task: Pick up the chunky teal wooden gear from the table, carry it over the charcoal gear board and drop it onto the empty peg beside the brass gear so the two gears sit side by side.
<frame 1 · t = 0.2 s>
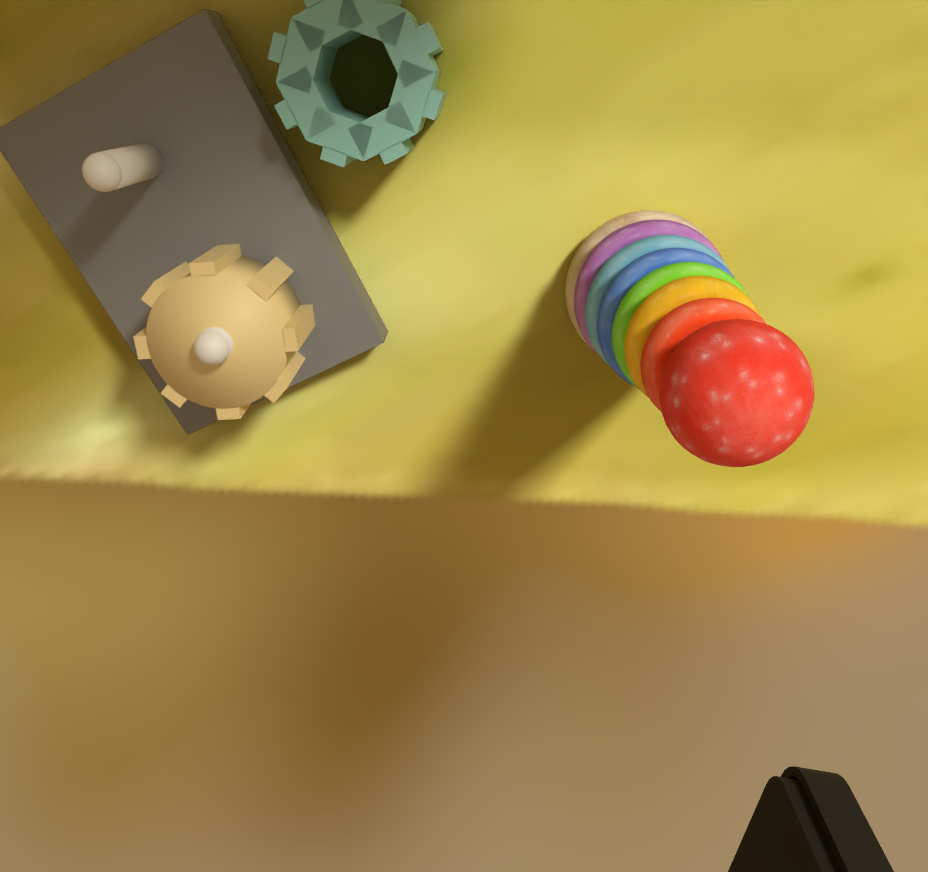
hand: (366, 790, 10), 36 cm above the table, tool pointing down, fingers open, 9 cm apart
teal gear: (368, 76, 40), on the table
gear board: (207, 235, 44), on the table
stacking toy: (639, 285, 44), on the table
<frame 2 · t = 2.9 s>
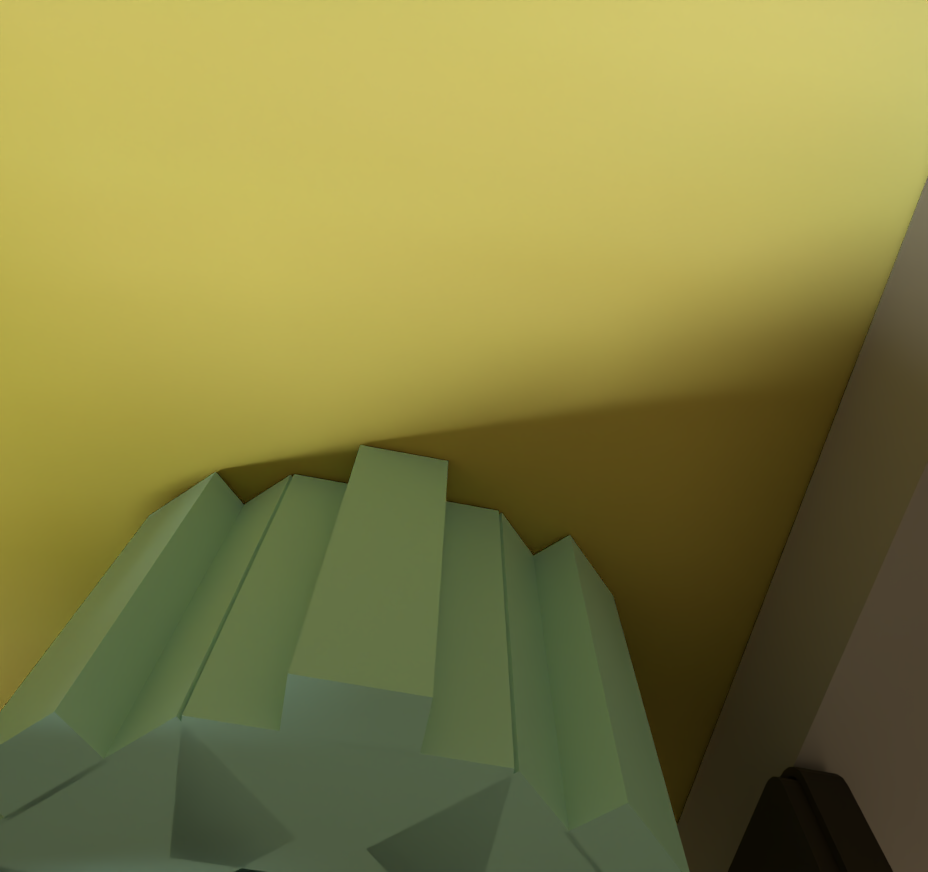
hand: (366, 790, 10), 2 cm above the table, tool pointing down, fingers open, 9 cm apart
teal gear: (359, 695, 12), on the table
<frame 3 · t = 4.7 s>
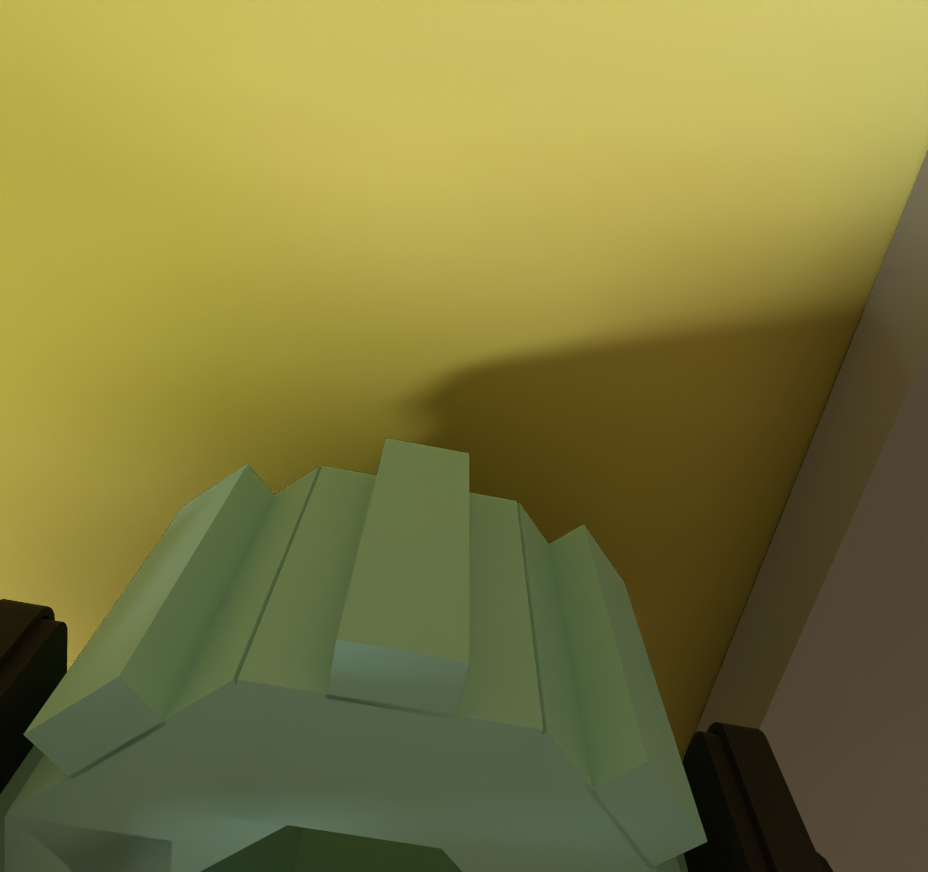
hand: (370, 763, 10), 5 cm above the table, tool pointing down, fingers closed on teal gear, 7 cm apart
teal gear: (381, 679, 12), point 3 cm above the table, touching gripper
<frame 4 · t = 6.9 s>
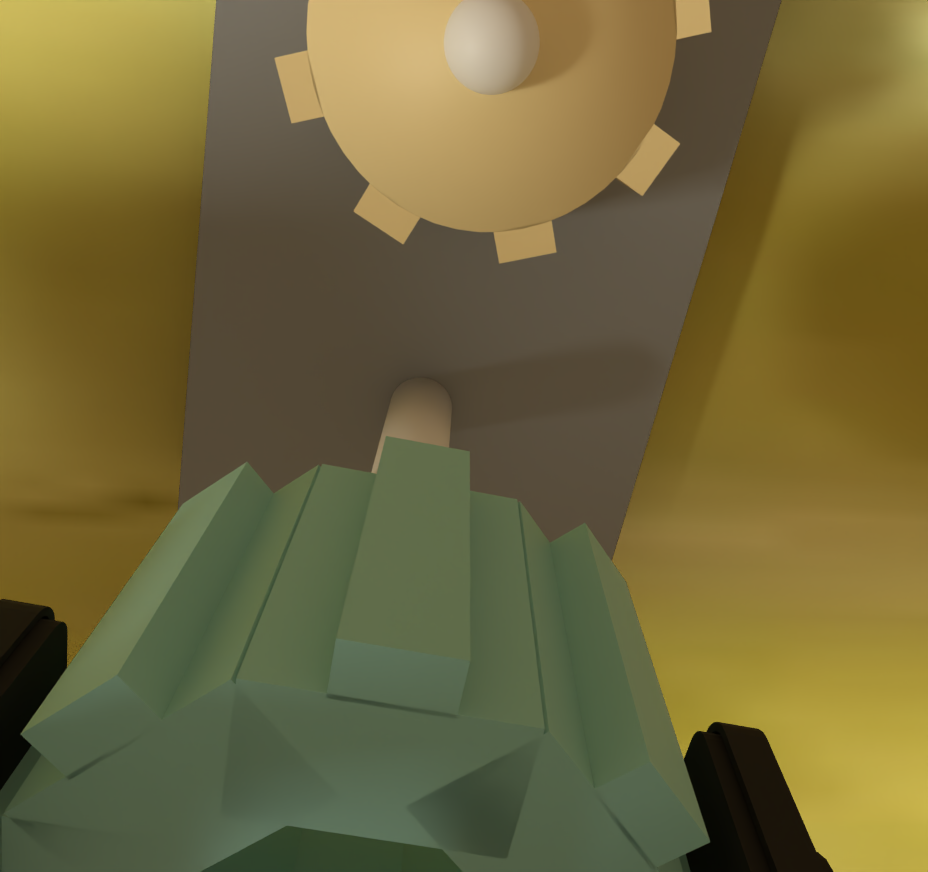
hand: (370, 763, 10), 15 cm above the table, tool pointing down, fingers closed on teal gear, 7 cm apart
teal gear: (381, 678, 12), point 13 cm above the table, touching gripper
gear board: (453, 230, 22), on the table
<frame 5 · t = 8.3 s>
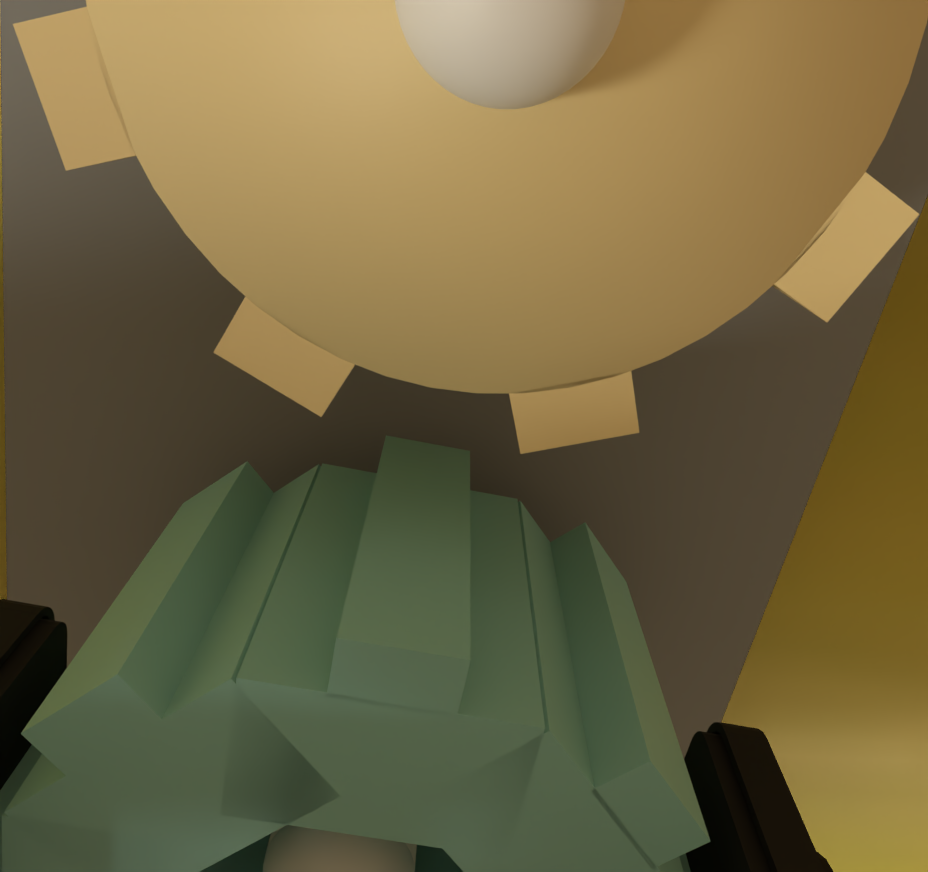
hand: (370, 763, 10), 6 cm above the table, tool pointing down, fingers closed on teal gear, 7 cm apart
teal gear: (381, 678, 12), point 4 cm above the table, touching gripper
gear board: (437, 318, 14), on the table
when the fingers open (4 cm above the table, at t = 9.5 s): teal gear stays where it is, resting on gear board.
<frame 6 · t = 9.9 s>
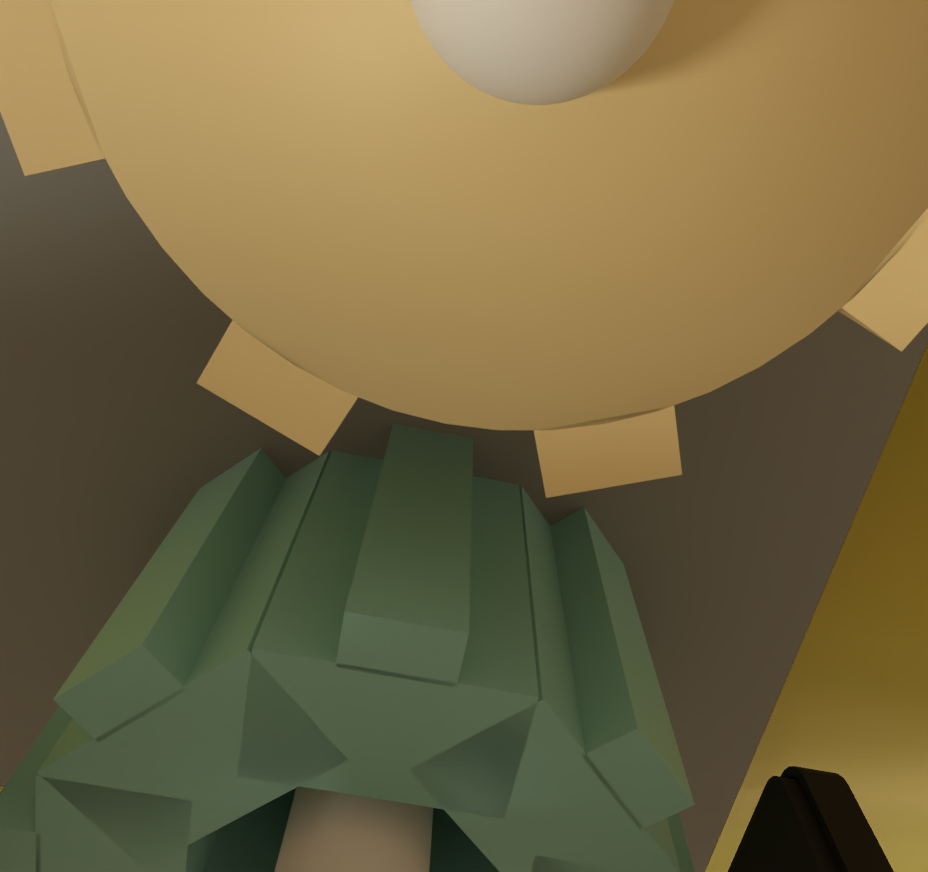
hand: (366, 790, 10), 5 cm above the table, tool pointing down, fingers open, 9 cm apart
teal gear: (389, 655, 13), point 2 cm above the table, touching gear board
gear board: (448, 331, 13), on the table
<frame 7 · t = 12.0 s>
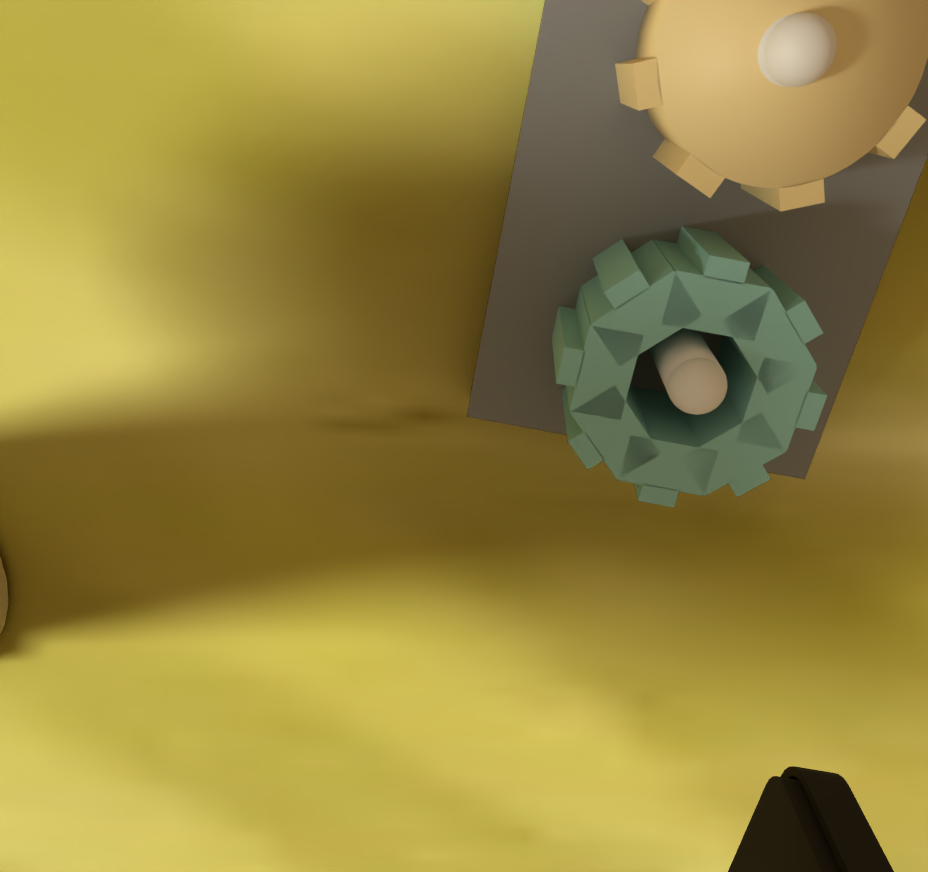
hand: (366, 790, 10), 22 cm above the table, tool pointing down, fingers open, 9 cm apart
teal gear: (666, 342, 28), point 2 cm above the table, touching gear board
gear board: (694, 192, 28), on the table
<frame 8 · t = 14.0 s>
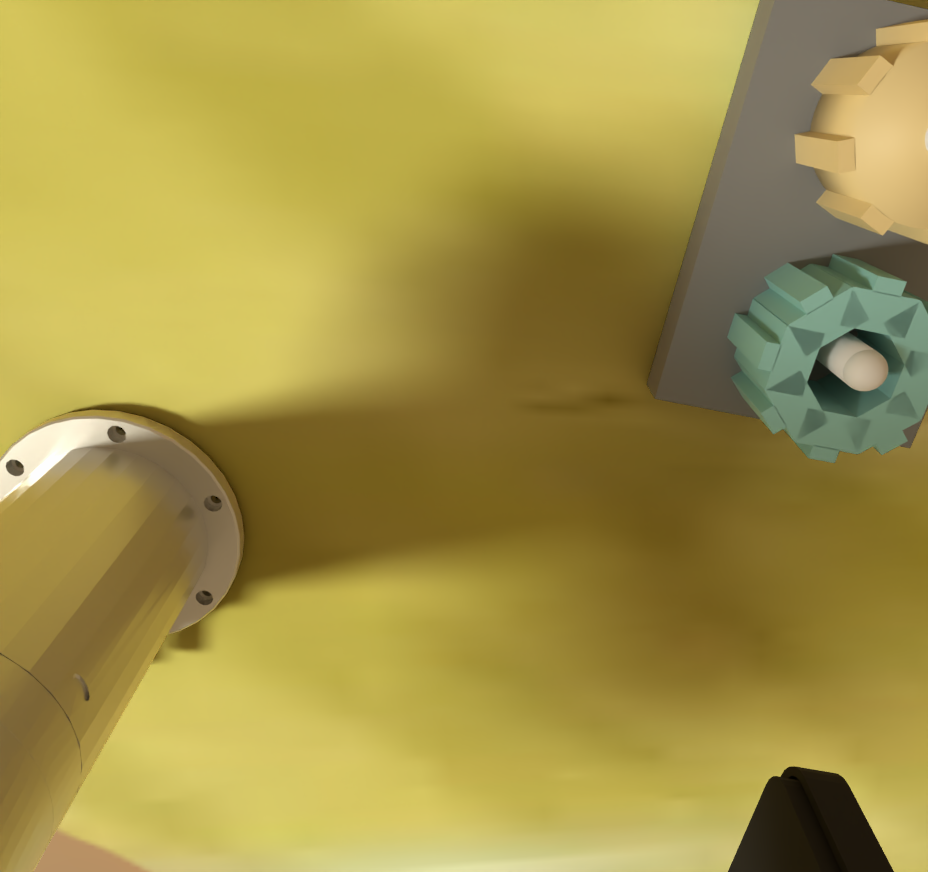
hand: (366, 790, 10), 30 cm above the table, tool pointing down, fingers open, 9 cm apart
teal gear: (814, 341, 37), point 2 cm above the table, touching gear board
gear board: (833, 228, 37), on the table
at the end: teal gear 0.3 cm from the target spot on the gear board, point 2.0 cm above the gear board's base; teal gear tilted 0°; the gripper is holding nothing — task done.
